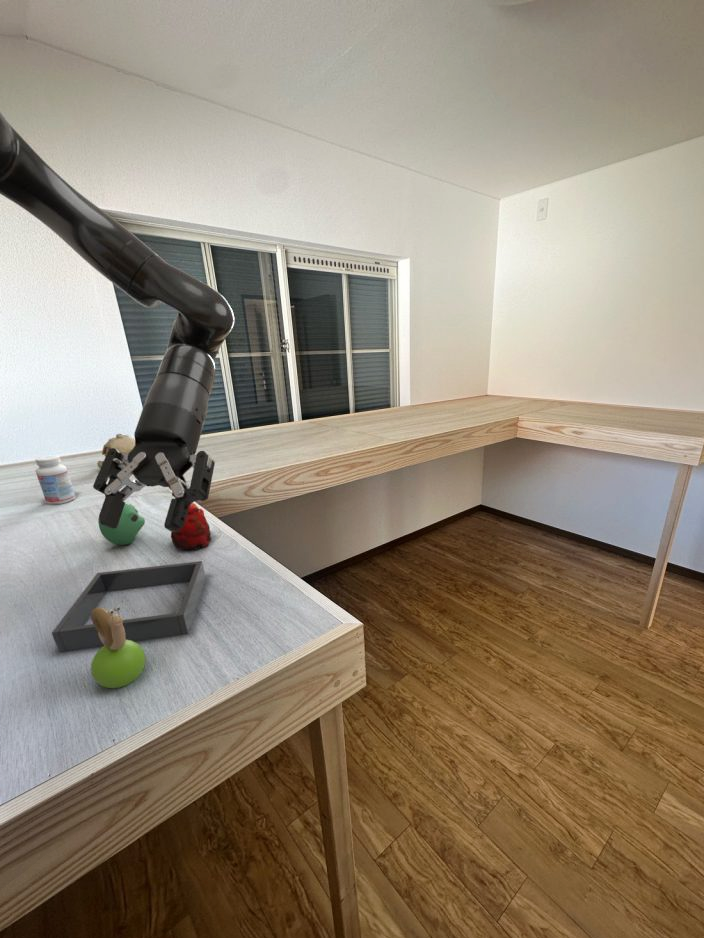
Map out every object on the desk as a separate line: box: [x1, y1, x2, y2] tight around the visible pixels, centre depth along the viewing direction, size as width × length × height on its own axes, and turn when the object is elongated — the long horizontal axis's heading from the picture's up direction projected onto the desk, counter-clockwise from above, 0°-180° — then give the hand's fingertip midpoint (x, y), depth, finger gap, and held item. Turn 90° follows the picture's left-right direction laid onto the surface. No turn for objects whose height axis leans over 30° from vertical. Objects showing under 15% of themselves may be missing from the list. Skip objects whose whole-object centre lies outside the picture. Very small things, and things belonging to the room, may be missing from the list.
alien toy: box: [97, 502, 146, 546], centre depth 81 cm, size 7×8×10 cm
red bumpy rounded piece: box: [168, 486, 212, 551], centre depth 79 cm, size 8×7×15 cm
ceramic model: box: [96, 433, 135, 470], centre depth 130 cm, size 14×11×10 cm
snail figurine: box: [90, 605, 146, 689], centre depth 48 cm, size 5×6×12 cm
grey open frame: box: [51, 560, 207, 654], centre depth 61 cm, size 16×15×4 cm
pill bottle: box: [34, 454, 77, 505], centre depth 102 cm, size 6×6×11 cm
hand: (139, 528), depth 51 cm, fingers open, 8 cm apart
